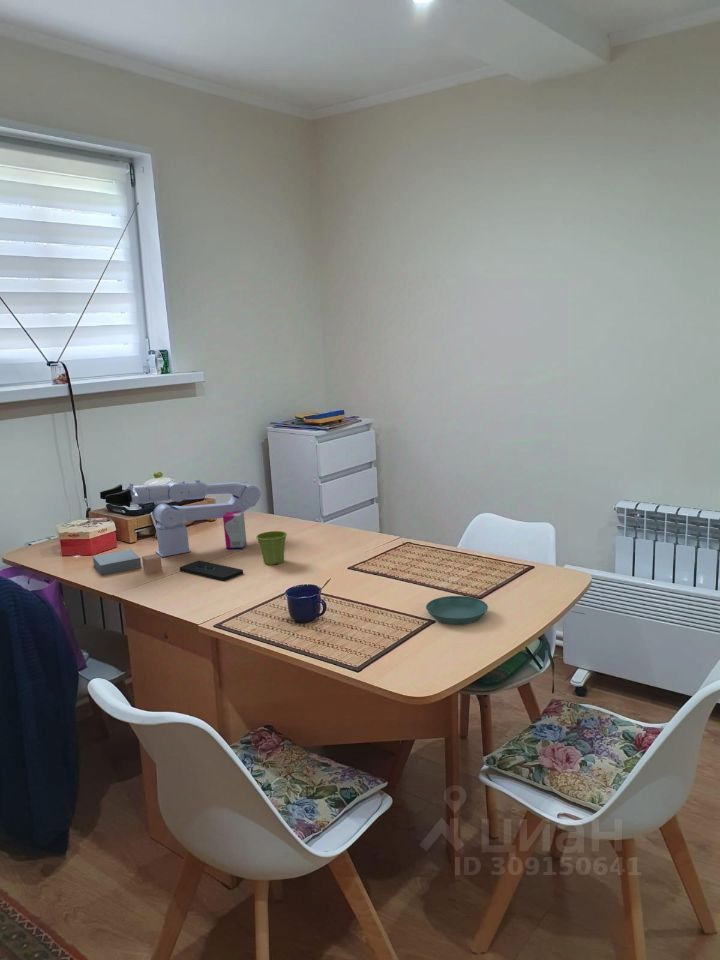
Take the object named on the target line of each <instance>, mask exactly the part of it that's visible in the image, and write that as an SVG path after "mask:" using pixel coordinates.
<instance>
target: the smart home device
mask: <svg viewBox="0 0 720 960" xmlns="http://www.w3.org/2000/svg"><path fill="white" fill-rule="evenodd" d="M179 571H180V572H182V573H186V574H191V575H194V576H199V577H205V578H208V579H211V580H217V581H220V582H226V581H228V580H231V579H234V578H236V577H239V576H241V575H244V570H243V569H240V568H237V567H232V566H227V565H223V564H218V563H213V562H209V561H204V560H196V561H193V562H190V563H187V564H185V565H181V566H179Z"/></svg>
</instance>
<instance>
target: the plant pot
mask: <svg viewBox="0 0 720 960" xmlns="http://www.w3.org/2000/svg"><path fill="white" fill-rule="evenodd" d="M287 536H288V533H287V532H286V531H283V530H282V531H280V530H272V531H264V532H262V533H261V532H260V533H258V534H256V536H255V537H256V540H257V541H258V543H259V547H260V551H261V555H262V560H263V564H265V565H266V566H267V565H271V566H274V565H275V564H282V563H284V561H285V545H286V544H285V542H286V538H287Z"/></svg>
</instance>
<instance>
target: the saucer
mask: <svg viewBox="0 0 720 960" xmlns="http://www.w3.org/2000/svg"><path fill="white" fill-rule="evenodd" d="M425 609H426V610H427V612H428V613H429V615H430V616H431V617H433V618H434V619H435V620H436V621H437V622H440V623H443V624H447V625H454V626H455V625H468V624H471V623H475V622H477V621H478V620H480V619H481V618H482V617H483V616H484V615H485V614H486V613H487V611H488V609H489V606H488V604H487V603H486V602H485V601H483V600H482V599H479V598H475V597H472V596H466V595H463V596H462V595H447V596H440V597H437V598H434V599H432V600H431V601H429V602H428V603H426V605H425Z"/></svg>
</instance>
